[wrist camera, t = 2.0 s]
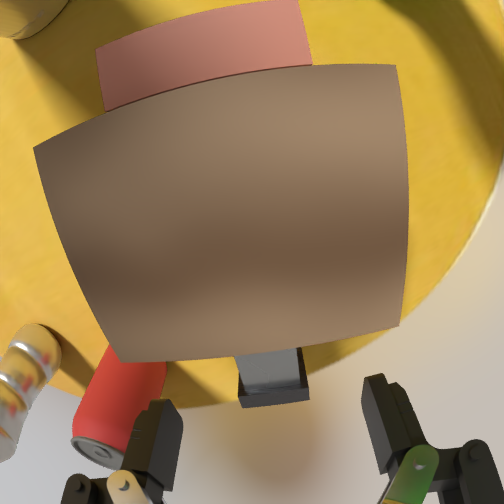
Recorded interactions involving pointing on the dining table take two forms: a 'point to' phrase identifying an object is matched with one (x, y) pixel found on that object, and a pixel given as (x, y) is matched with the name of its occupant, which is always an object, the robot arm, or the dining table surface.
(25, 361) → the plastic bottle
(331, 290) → the brown wooden block
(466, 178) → the dining table surface
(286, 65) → the spacer
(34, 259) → the dining table surface
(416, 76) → the dining table surface
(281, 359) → the shaft
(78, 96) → the dining table surface
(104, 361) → the beer can
